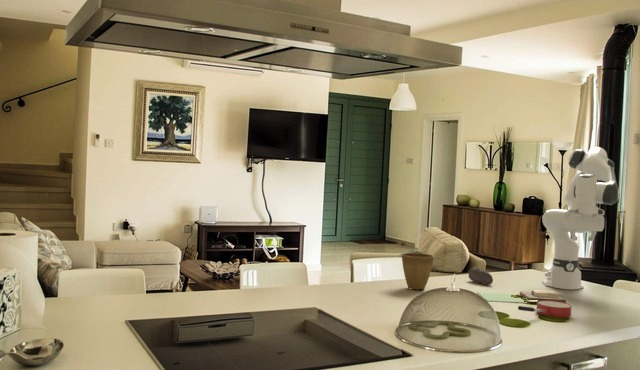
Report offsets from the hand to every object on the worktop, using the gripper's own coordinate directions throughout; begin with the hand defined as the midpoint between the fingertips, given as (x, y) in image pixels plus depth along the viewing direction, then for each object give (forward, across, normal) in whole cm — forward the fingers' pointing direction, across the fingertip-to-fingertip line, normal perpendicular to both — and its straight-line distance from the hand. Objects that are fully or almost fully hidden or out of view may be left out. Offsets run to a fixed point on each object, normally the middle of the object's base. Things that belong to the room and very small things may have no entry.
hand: (582, 240), depth 278 cm
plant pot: (+28, -62, +37) cm, 77 cm away
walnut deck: (+28, -15, +6) cm, 32 cm away
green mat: (+28, -32, +13) cm, 44 cm away
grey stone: (+27, -20, +45) cm, 56 cm away
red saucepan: (+29, -39, -22) cm, 53 cm away
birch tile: (+26, -14, +5) cm, 30 cm away
